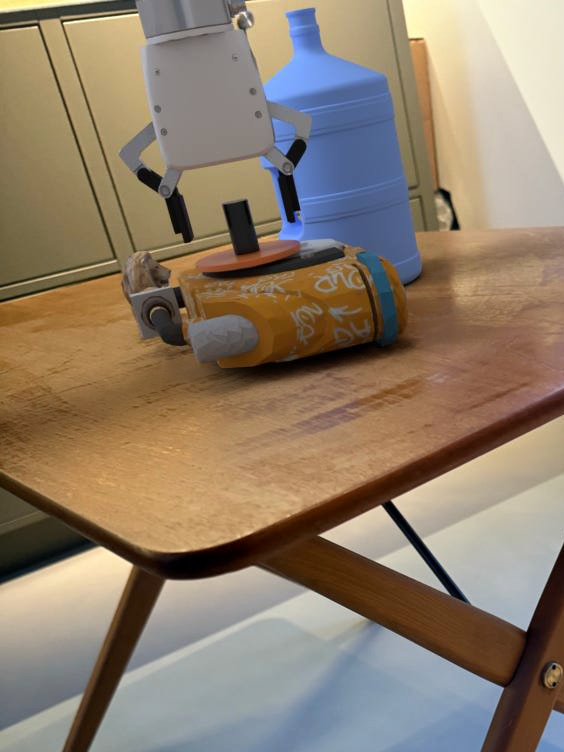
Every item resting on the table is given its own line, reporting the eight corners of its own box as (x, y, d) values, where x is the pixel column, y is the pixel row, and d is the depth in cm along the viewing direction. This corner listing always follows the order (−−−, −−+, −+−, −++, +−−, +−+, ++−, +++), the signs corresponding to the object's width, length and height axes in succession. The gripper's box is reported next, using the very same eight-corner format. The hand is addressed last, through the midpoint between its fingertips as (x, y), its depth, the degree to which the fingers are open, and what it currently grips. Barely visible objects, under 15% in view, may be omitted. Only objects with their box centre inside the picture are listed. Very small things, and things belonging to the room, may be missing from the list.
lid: (192, 278, 93) (175, 218, 91) (200, 260, 102) (185, 205, 100) (302, 256, 94) (288, 196, 92) (300, 240, 103) (287, 185, 100)
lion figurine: (191, 333, 114) (166, 247, 109) (143, 345, 112) (115, 259, 108) (170, 313, 126) (146, 235, 121) (126, 324, 124) (100, 245, 120)
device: (141, 312, 83) (118, 266, 108) (172, 412, 87) (144, 345, 112) (407, 250, 88) (327, 219, 113) (425, 347, 92) (344, 297, 117)
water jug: (435, 263, 127) (390, -4, 113) (406, 294, 114) (350, -4, 100) (315, 279, 130) (257, 22, 116) (273, 310, 117) (201, 25, 103)
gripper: (287, 4, 92) (330, 209, 101) (92, 39, 91) (152, 243, 100) (287, -1, 86) (333, 218, 94) (77, 36, 85) (143, 255, 93)
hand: (240, 231), depth 97 cm, fingers open, 9 cm apart
